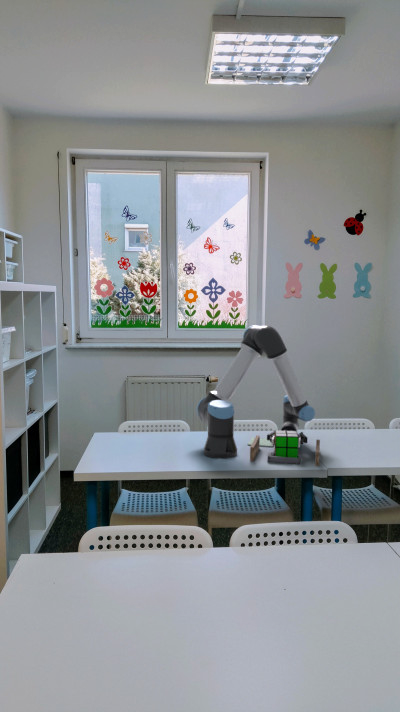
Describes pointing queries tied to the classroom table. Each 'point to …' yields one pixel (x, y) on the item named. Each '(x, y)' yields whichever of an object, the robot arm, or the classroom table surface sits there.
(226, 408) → the robot arm
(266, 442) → the mat
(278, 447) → the puzzle cube
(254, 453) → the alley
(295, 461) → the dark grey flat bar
